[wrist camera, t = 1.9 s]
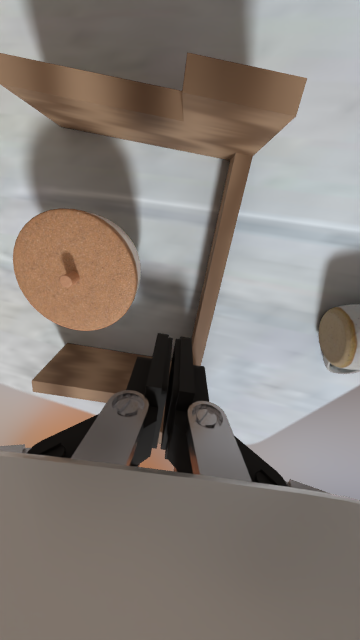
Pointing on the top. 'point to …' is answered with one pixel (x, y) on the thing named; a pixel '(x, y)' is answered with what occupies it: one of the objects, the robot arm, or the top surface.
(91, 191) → the top surface
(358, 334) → the white mug
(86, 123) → the wooden rack
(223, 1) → the top surface
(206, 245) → the top surface
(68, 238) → the lidded jar
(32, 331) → the top surface
